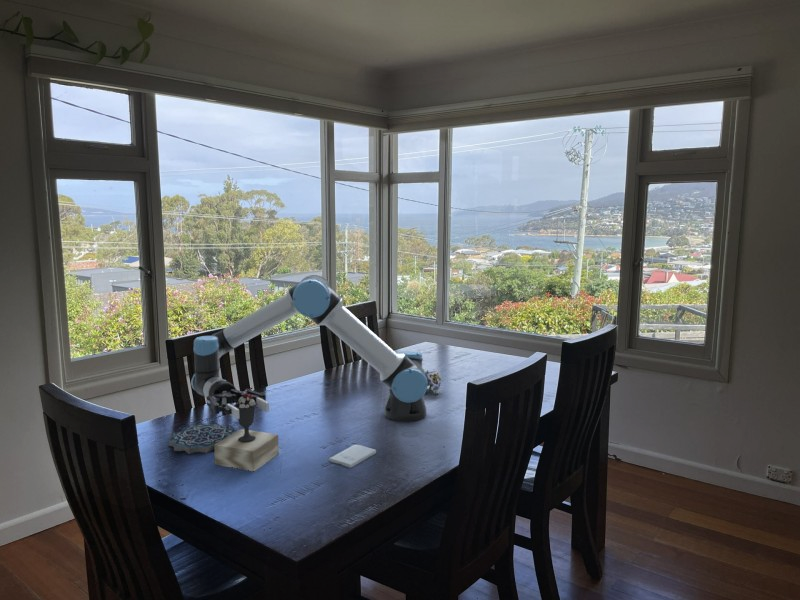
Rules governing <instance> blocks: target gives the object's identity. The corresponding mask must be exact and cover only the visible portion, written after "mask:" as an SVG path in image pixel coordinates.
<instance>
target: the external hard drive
mask: <svg viewBox="0 0 800 600" xmlns="http://www.w3.org/2000/svg"><path fill="white" fill-rule="evenodd" d="M376 453H377V449H374V448H370V447H367V446H364V445H361V444H357V443H355V444H353V445H351V446H349V447H348V448H346V449H343V450H342V451H340V452H337V454H334V455H333V456H331V457H329V458H328V462H331V463H335V464H337V465H341V466H343V467H347V468H350V469H352V468H354V467H355V466H356V465H358V464H360V463H362V462H364V461H365V460H366V459H368V458H370V457H372V456H374V455H375V454H376Z"/></svg>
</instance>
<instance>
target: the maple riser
mask: <svg viewBox="0 0 800 600" xmlns="http://www.w3.org/2000/svg"><path fill="white" fill-rule="evenodd" d="M244 433H245V429H244V428H240V429H238V430H237V432H235V433H233V434H232V435H230V436H228V437H227V438H225V439H223V440H221V441H220V442H218V443H216V444H215V445H214V465H216V466H220V465H221V467H227V468H231V467H233V468H232V469H237V468H238V470H242V469H244V471H248V470H249V472H253V471H254V472H255V471H257V470H258V469H260V468H261V467H263V466H264V465H265V464H266V462H267V463H269V461H271V460H272V459H273V458H275V457H276V456H277V454H278V455H279V454H280V452H279V450H280V449H279V448H280V446H279V434H277V433H276V434H275V433H271V432H265V431H264V432H263V431H257V430H251V429H249V434H250V435H251V436H255V437H256V438H255V439H254V440H252V441H248V442H242V441H239V440H238V439H239V438H240V437H242V436H244Z"/></svg>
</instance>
